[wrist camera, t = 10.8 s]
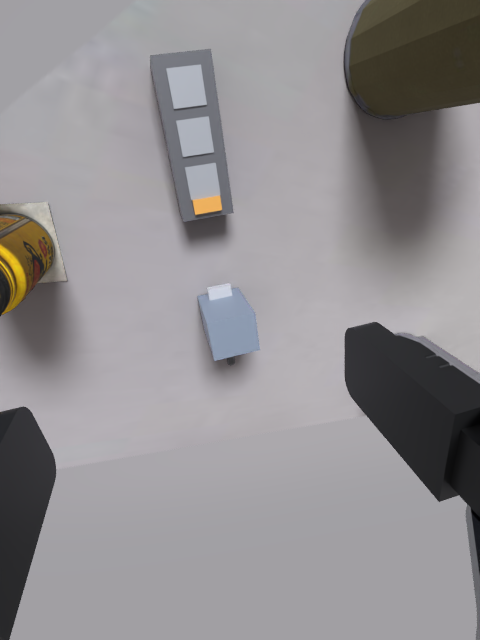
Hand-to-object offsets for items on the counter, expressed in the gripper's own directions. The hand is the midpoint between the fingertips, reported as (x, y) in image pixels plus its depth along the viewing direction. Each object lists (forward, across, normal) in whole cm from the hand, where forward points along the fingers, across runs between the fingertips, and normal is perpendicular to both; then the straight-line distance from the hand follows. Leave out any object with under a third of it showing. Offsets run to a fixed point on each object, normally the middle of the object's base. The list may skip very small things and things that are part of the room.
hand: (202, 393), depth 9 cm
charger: (+28, -4, +12) cm, 31 cm away
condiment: (+28, +14, 0) cm, 32 cm away
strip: (+28, -4, -6) cm, 29 cm away
